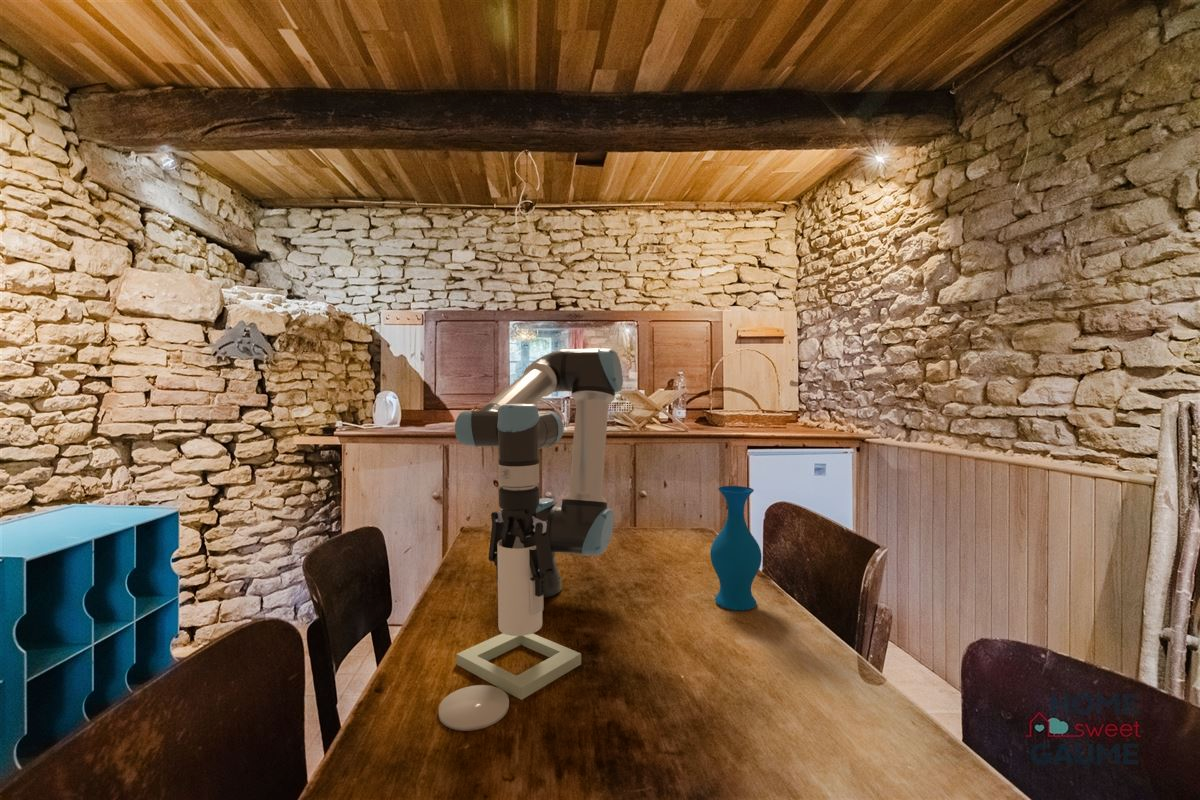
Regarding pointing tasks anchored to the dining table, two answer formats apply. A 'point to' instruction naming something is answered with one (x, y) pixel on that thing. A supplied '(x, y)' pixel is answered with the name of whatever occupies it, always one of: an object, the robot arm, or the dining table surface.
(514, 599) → the cup
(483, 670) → the pale green rectangular frame
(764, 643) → the dining table surface
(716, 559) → the vase
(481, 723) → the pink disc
